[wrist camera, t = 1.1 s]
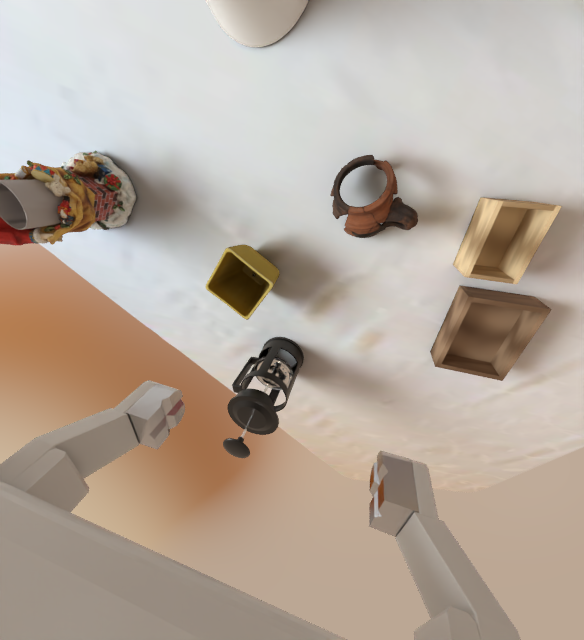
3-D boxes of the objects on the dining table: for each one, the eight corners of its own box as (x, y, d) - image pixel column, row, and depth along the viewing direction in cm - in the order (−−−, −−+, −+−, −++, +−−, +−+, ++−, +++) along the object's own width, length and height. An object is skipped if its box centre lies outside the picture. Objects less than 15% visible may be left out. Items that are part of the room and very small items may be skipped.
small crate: (480, 197, 32) (498, 200, 28) (533, 201, 31) (561, 206, 26) (453, 264, 37) (464, 276, 32) (498, 270, 36) (517, 284, 31)
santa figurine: (133, 157, 42) (-101, 140, 21) (147, 240, 50) (-17, 286, 29) (56, 142, 45) (-218, 113, 24) (80, 222, 52) (-113, 252, 32)
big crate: (459, 285, 38) (468, 296, 34) (534, 296, 36) (551, 309, 33) (430, 351, 45) (435, 366, 41) (491, 364, 43) (502, 380, 39)
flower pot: (291, 266, 44) (274, 285, 37) (265, 299, 49) (246, 321, 41) (252, 234, 43) (226, 246, 36) (230, 270, 48) (203, 287, 40)
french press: (305, 339, 51) (265, 437, 32) (307, 374, 55) (274, 478, 36) (253, 334, 54) (188, 421, 35) (259, 368, 59) (204, 460, 39)
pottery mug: (328, 232, 40) (314, 210, 32) (353, 175, 39) (346, 138, 31) (401, 258, 36) (406, 239, 28) (432, 195, 35) (446, 158, 27)
